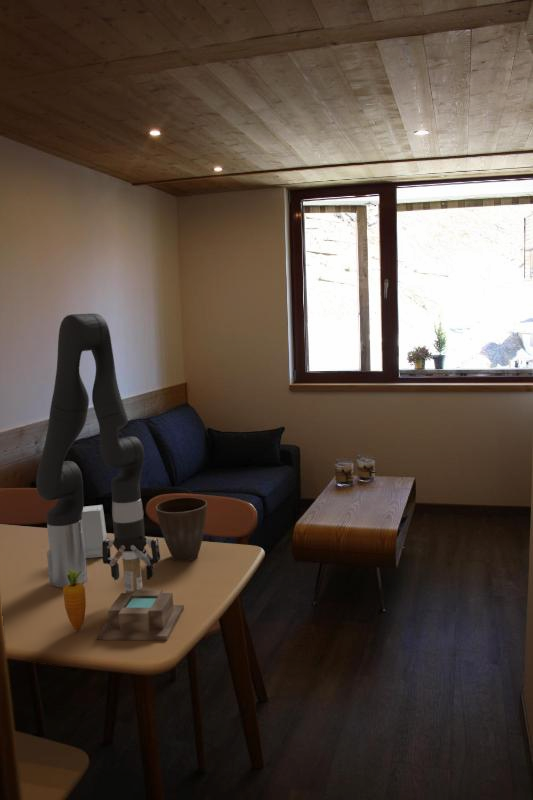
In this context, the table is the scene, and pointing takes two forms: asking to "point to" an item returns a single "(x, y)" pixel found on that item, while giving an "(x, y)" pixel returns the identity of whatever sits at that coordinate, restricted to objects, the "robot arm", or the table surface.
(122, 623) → the socket block
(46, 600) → the table surface
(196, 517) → the plant pot
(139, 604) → the teal square tile
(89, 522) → the skincare box
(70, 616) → the carrot
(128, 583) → the sprinkles bottle
